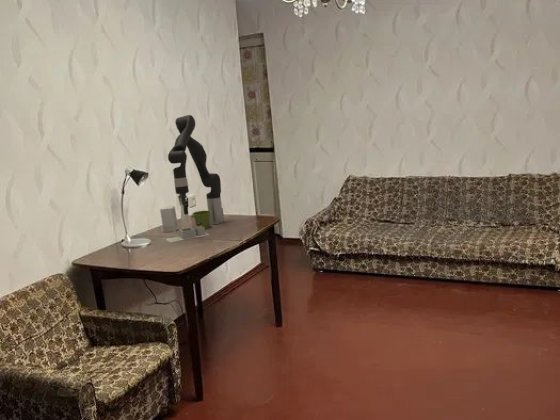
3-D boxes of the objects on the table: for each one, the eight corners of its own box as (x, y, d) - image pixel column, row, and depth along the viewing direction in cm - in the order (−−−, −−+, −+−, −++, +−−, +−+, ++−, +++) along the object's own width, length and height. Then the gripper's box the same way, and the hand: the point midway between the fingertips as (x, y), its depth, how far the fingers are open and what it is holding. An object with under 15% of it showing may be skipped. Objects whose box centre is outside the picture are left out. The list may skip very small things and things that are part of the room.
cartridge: (182, 220, 314) (181, 201, 312) (190, 221, 314) (189, 201, 311) (180, 222, 310) (178, 202, 308) (187, 222, 309) (186, 202, 307)
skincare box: (178, 229, 342) (175, 206, 339) (175, 232, 336) (172, 208, 333) (166, 230, 343) (163, 206, 340) (162, 232, 337) (159, 209, 334)
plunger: (202, 232, 320) (201, 221, 318) (204, 233, 316) (203, 222, 315) (196, 233, 318) (195, 222, 317) (198, 235, 314) (196, 224, 313)
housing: (204, 234, 323) (203, 224, 322) (209, 237, 314) (208, 227, 313) (166, 241, 314) (164, 231, 313) (170, 244, 305) (168, 234, 304)
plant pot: (190, 232, 332) (188, 214, 330) (200, 227, 343) (198, 210, 341) (207, 232, 328) (205, 214, 326) (216, 227, 338) (214, 210, 336)
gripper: (191, 185, 303) (194, 214, 306) (184, 182, 315) (188, 210, 319) (178, 187, 300) (182, 216, 303) (172, 184, 312) (175, 212, 316)
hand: (185, 213), depth 311 cm, fingers closed on cartridge, 4 cm apart
